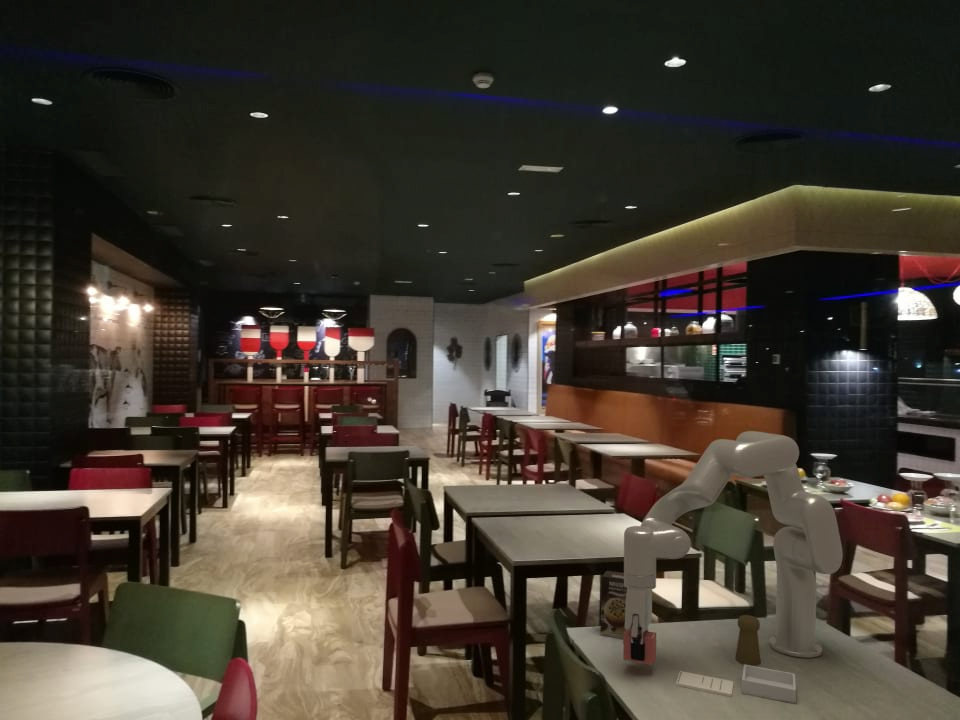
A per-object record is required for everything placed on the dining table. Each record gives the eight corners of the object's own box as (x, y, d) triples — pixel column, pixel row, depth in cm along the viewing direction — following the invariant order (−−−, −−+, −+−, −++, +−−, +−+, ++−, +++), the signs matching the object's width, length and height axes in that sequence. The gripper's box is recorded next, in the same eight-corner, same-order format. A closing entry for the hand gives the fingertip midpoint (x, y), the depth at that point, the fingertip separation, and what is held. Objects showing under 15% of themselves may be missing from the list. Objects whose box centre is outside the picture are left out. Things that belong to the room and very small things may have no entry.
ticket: (679, 673, 163) (680, 670, 163) (733, 683, 158) (733, 681, 158) (675, 685, 157) (675, 682, 157) (731, 696, 152) (731, 693, 152)
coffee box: (599, 635, 185) (600, 575, 185) (604, 627, 191) (606, 569, 191) (633, 641, 182) (634, 580, 182) (637, 633, 188) (638, 574, 188)
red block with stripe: (627, 652, 167) (627, 627, 167) (656, 657, 165) (656, 632, 165) (623, 659, 163) (623, 634, 163) (653, 665, 160) (653, 639, 161)
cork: (763, 667, 168) (764, 622, 168) (737, 664, 169) (738, 619, 169) (758, 657, 174) (759, 613, 174) (733, 654, 175) (734, 611, 175)
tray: (743, 677, 162) (744, 664, 162) (794, 686, 158) (795, 673, 158) (741, 693, 154) (742, 679, 154) (795, 703, 149) (795, 690, 149)
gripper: (631, 567, 173) (631, 639, 173) (616, 587, 158) (616, 666, 158) (661, 571, 170) (661, 644, 170) (649, 592, 155) (649, 672, 155)
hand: (639, 654), depth 164 cm, fingers closed on red block with stripe, 4 cm apart
